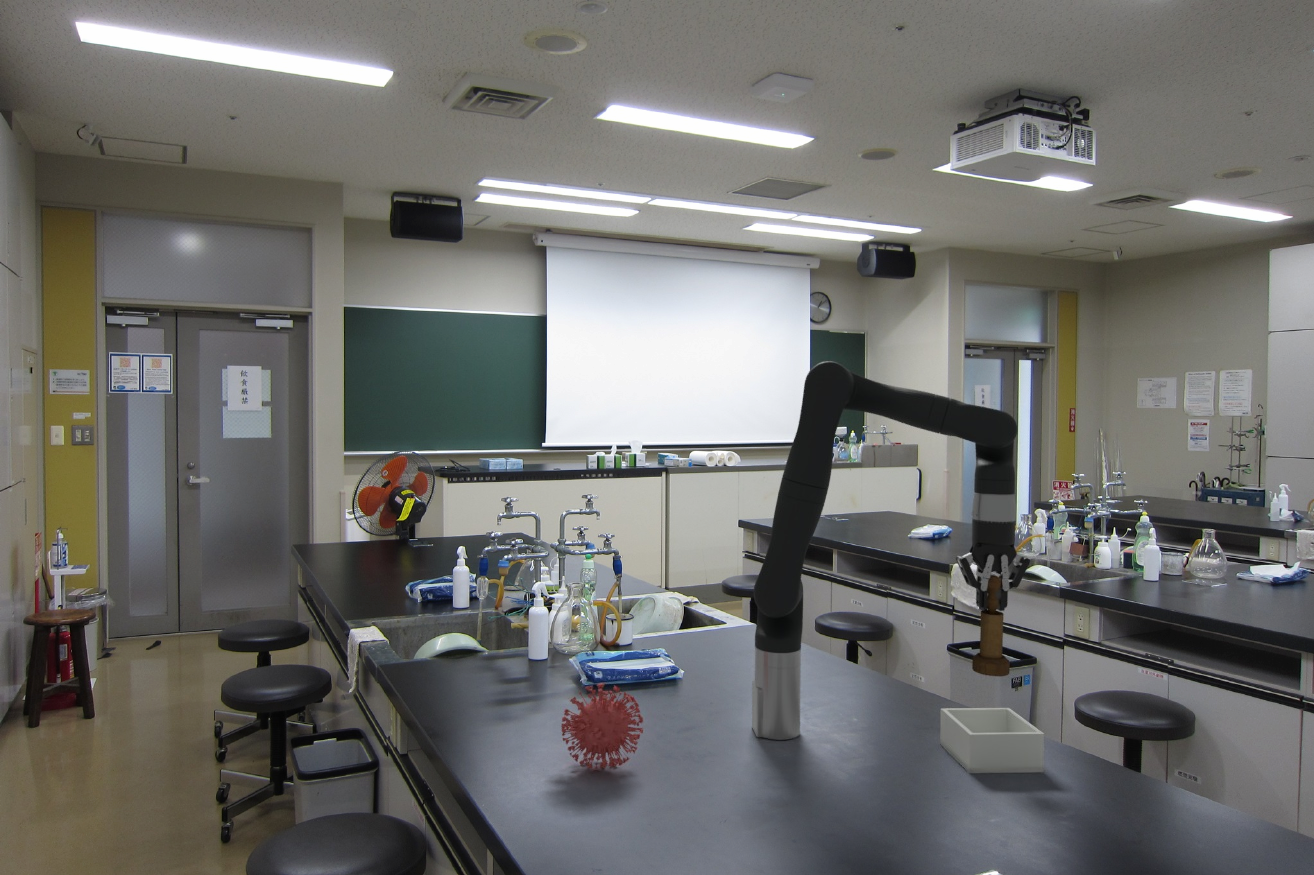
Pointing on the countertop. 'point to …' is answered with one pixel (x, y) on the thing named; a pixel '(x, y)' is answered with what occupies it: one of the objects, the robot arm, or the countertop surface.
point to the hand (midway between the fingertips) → (991, 609)
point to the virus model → (603, 727)
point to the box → (991, 740)
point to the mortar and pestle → (991, 637)
